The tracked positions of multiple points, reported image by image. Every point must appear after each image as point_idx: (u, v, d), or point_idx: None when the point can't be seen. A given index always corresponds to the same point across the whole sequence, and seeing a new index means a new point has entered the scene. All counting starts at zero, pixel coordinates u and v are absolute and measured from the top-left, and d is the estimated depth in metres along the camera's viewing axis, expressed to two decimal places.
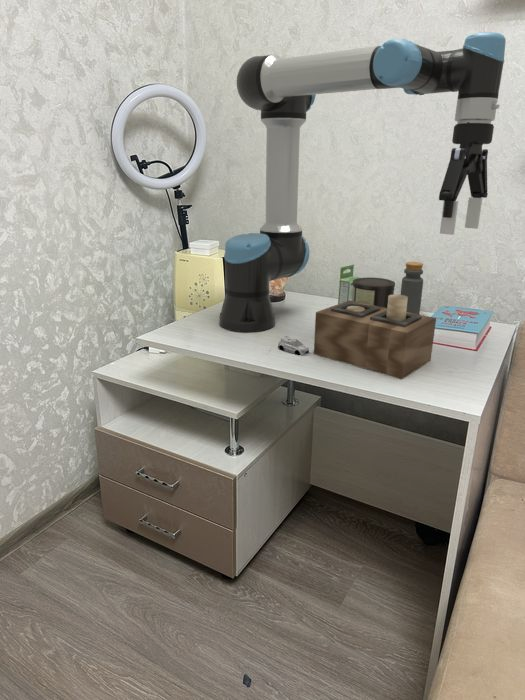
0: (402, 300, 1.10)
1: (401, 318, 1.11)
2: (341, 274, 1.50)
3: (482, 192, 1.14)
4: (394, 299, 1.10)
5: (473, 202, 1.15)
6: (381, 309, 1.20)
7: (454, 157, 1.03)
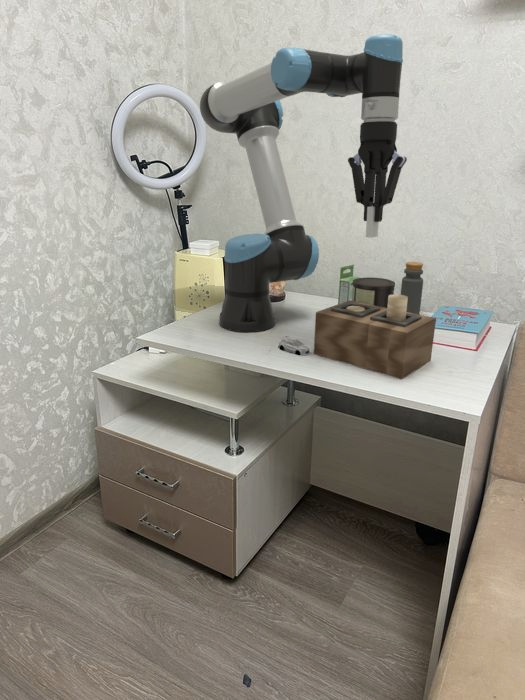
0: (402, 300, 1.10)
1: (401, 318, 1.11)
2: (341, 274, 1.50)
3: (376, 200, 1.13)
4: (394, 299, 1.10)
5: None
6: (381, 309, 1.20)
7: None
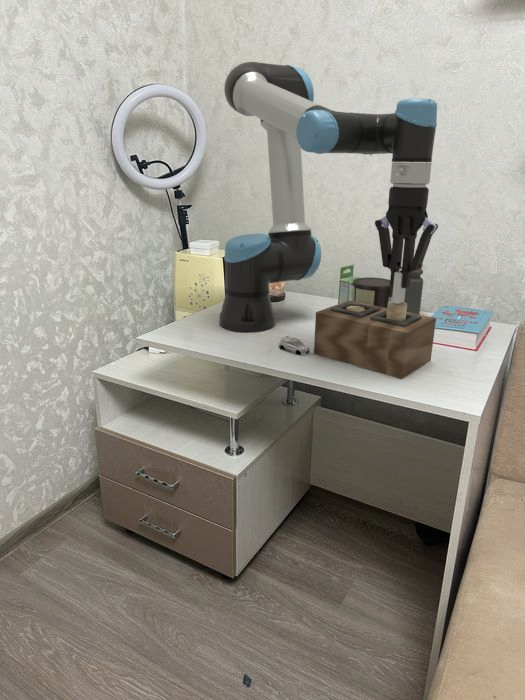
0: (401, 307, 1.10)
1: None
2: (341, 274, 1.50)
3: (404, 266, 1.07)
4: (393, 306, 1.10)
5: None
6: (381, 309, 1.20)
7: None
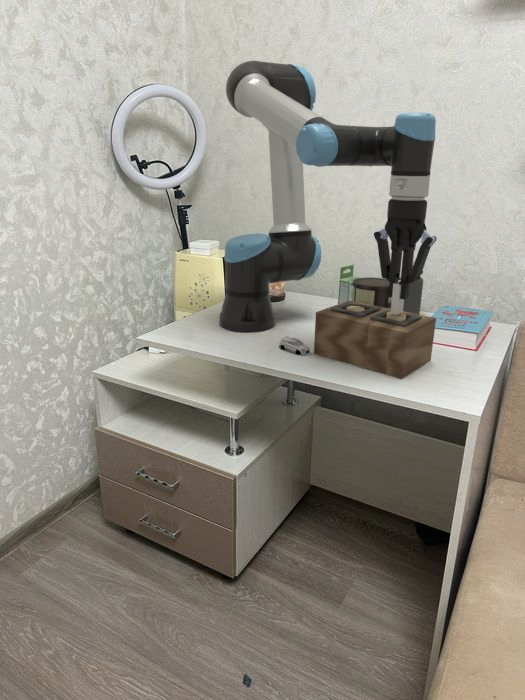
0: (400, 317, 1.11)
1: None
2: (341, 274, 1.50)
3: (402, 277, 1.08)
4: (392, 316, 1.11)
5: None
6: (381, 309, 1.20)
7: None
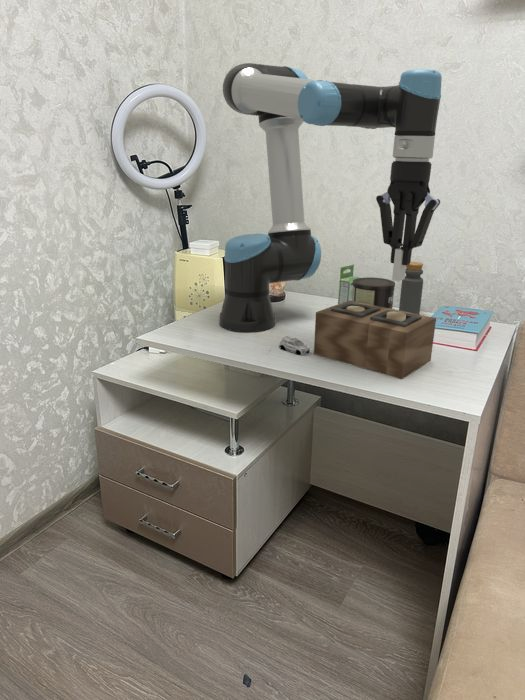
0: (400, 317, 1.11)
1: None
2: (341, 274, 1.50)
3: (405, 242, 1.06)
4: (392, 316, 1.11)
5: None
6: (381, 309, 1.20)
7: None
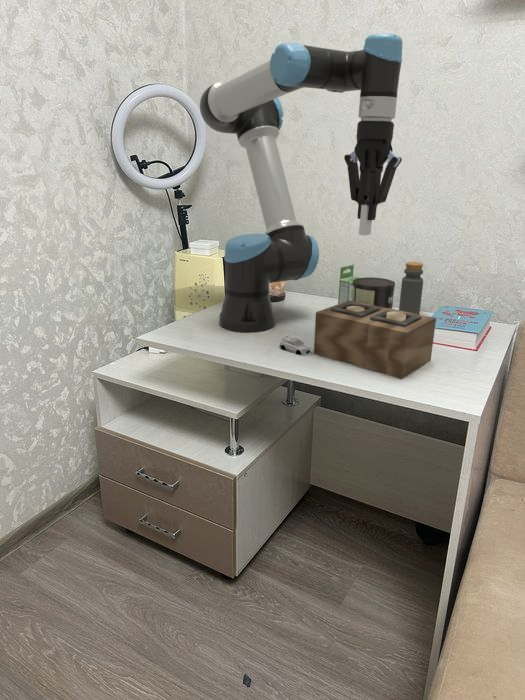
0: (400, 317, 1.11)
1: None
2: (341, 274, 1.50)
3: (370, 198, 1.14)
4: (392, 316, 1.11)
5: None
6: (381, 309, 1.20)
7: None
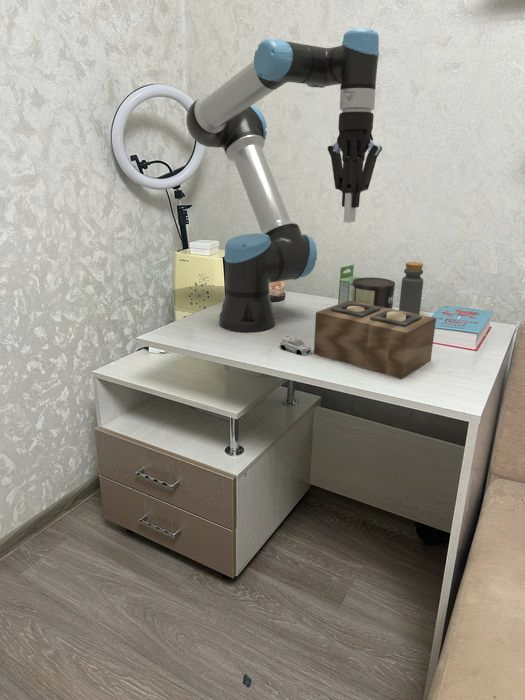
0: (400, 317, 1.11)
1: None
2: (341, 274, 1.50)
3: (353, 186, 1.19)
4: (392, 316, 1.11)
5: None
6: (381, 309, 1.20)
7: None
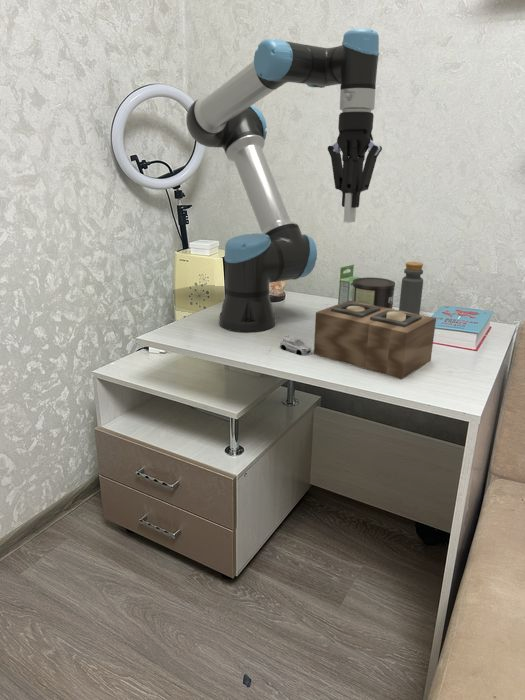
0: (400, 317, 1.11)
1: None
2: (341, 274, 1.50)
3: (353, 186, 1.19)
4: (392, 316, 1.11)
5: None
6: (381, 309, 1.20)
7: None
